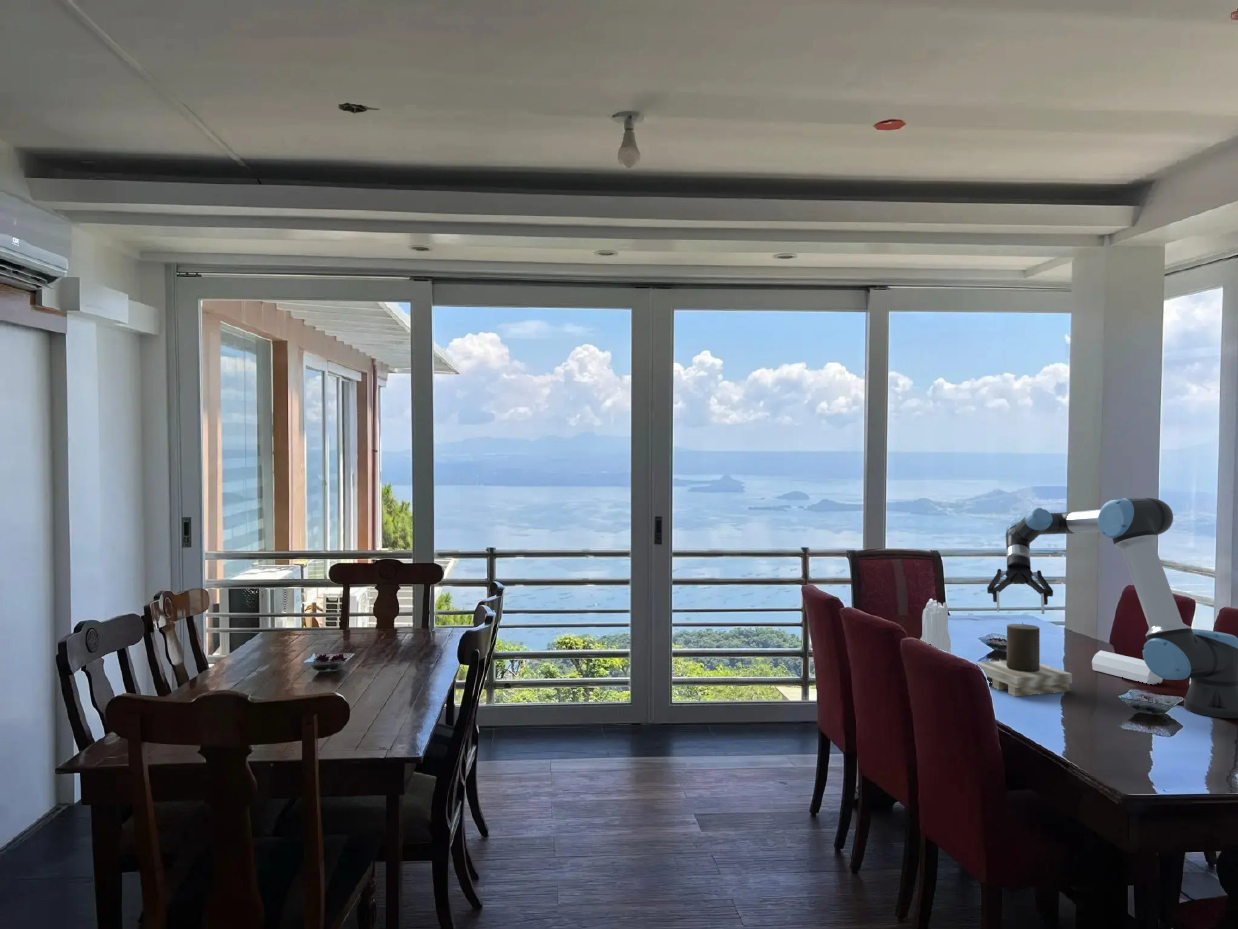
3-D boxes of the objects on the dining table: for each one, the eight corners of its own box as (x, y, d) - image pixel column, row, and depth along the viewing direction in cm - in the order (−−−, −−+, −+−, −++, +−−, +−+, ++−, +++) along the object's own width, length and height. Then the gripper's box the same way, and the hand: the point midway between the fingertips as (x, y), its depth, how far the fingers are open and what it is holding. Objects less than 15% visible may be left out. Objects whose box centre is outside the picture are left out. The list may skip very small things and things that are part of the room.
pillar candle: (1024, 673, 264) (1025, 626, 264) (999, 666, 273) (999, 620, 273) (1046, 670, 268) (1046, 623, 268) (1021, 663, 277) (1021, 618, 277)
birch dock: (1027, 677, 282) (1027, 659, 282) (1072, 692, 263) (1071, 673, 263) (975, 681, 278) (975, 663, 278) (1017, 697, 258) (1016, 678, 258)
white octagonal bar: (1172, 672, 272) (1106, 656, 295) (1159, 663, 270) (1093, 648, 293) (1165, 693, 271) (1098, 676, 293) (1151, 684, 269) (1085, 667, 291)
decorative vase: (953, 676, 284) (952, 603, 284) (919, 674, 288) (919, 601, 288) (951, 668, 295) (950, 598, 295) (919, 666, 298) (918, 597, 298)
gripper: (1057, 568, 290) (1061, 619, 276) (980, 566, 300) (980, 614, 287) (1058, 555, 285) (1063, 606, 272) (979, 552, 296) (979, 601, 282)
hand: (1020, 610), depth 279 cm, fingers open, 13 cm apart
